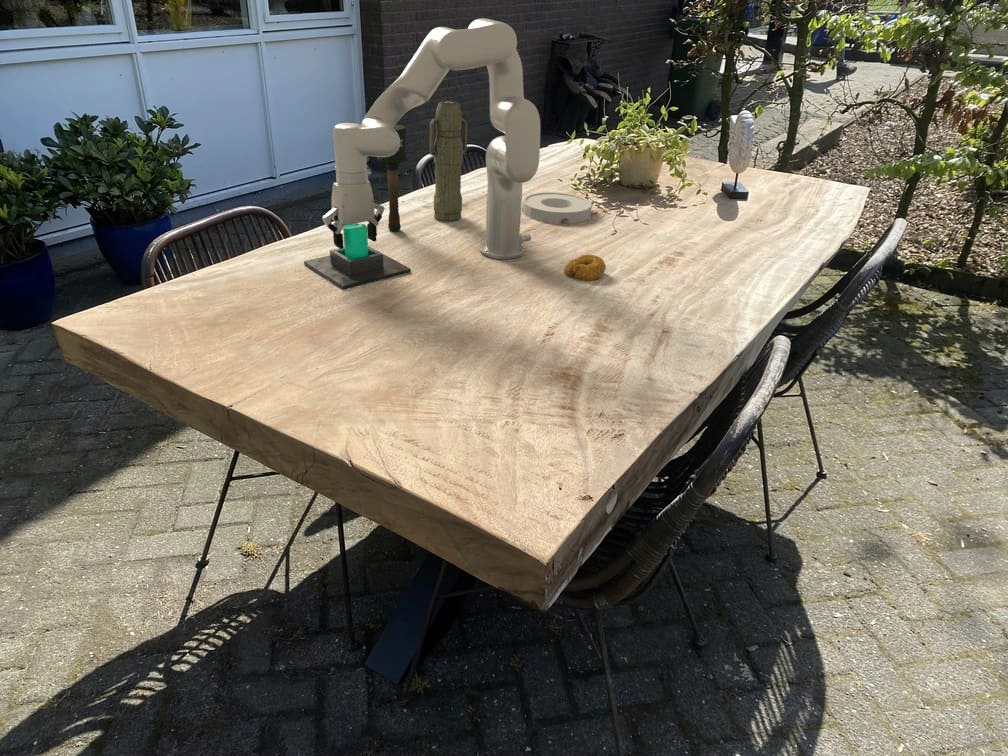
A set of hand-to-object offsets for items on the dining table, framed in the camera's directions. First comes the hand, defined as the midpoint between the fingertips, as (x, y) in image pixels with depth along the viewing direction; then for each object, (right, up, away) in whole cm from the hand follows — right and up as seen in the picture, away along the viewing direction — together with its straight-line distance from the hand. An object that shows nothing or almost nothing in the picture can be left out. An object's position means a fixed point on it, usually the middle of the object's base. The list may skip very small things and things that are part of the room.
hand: (355, 243), depth 181 cm
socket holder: (0, -6, +3) cm, 7 cm away
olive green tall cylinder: (+20, +16, +44) cm, 51 cm away
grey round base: (+56, +20, +55) cm, 81 cm away
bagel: (+60, -7, +8) cm, 61 cm away
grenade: (+5, +10, +31) cm, 33 cm away
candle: (0, -5, +3) cm, 6 cm away
